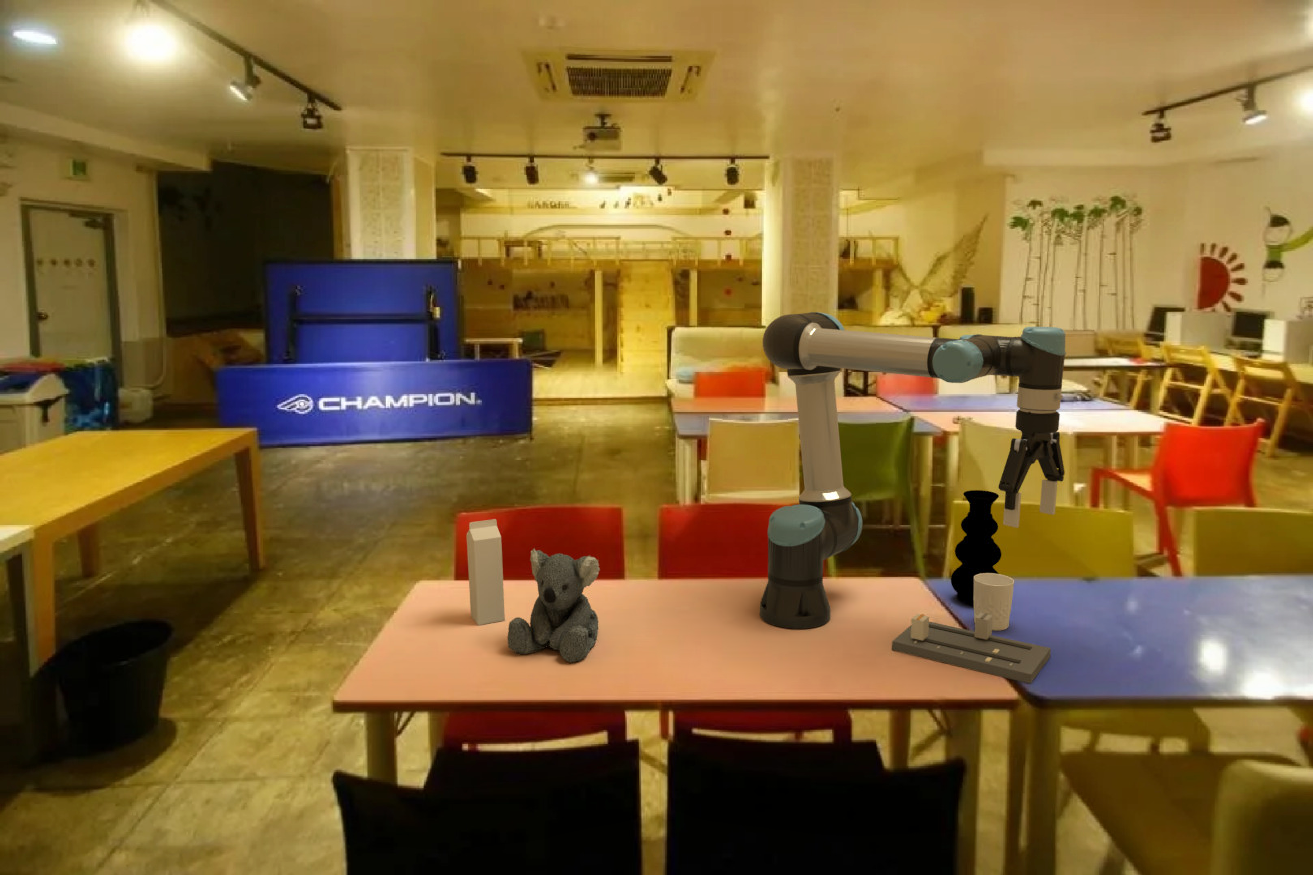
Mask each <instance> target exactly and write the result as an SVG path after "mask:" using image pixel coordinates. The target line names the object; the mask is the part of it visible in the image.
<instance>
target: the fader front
mask: <svg viewBox="0 0 1313 875" xmlns="http://www.w3.org/2000/svg"><path fill="white" fill-rule="evenodd" d="M929 621H930V616H929V615H925V614H923V613H921V614H919V613H916V614H915V615H914V616H912V618H911V623H910V624H911V625H910V626H911V638H914V639H918V640H922V641H923V640H924V639H925V638H926V637H927V636H928V631H929Z"/></svg>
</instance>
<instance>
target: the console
mask: <svg viewBox="0 0 1313 875" xmlns="http://www.w3.org/2000/svg"><path fill="white" fill-rule="evenodd" d="M974 636H975V630H971V629H965V628H961V627H956V626H952V625H947V624H943V623H938V622H933V621H930V620H929V631H928V636H927V637H926V638H925V639H924V640H923V641H922V640H918V639H914V638H911V625H909V626H908V627H907V628H906V629H905V630H904V631H902V632H901V633H900V634H899V635H898V636H897V637H895V638H894V639H893V640H892V641H891V651H895V652H899V653H902V654H907V655H911V656H916V657H919V658H925V659H928V660H932V661H936V662H940V663H944V664H949V665H952V666H957V667H959V668H960V667H961V668H965V669H969V670H971V671H972V670H973V671H977V672H981V673H985V674H989V675H993V676H997V677H1000V678H1001V677H1002V678H1004V679H1005V678H1006V679H1008V680H1009V679H1010V680H1013V681H1016V682H1017V681H1018V682H1020V683H1021V682H1023V683H1026V684H1031V685H1032V683H1033V682H1034V680H1035V679H1036V678H1037V675H1038V674H1040V672H1041V671H1042V669H1043V668H1044V667H1045V665H1046V663H1048V661H1049V659H1050V658H1051V650H1052V649H1051V647H1048V646H1042V645H1038V644H1033V643H1029V642H1025V641H1020V640H1016V639H1011V638H1007V637H1001V636H997V635H991V636H990V637H989V638H988V639H987V640H986V639H982V638H977V637H974Z"/></svg>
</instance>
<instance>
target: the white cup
mask: <svg viewBox="0 0 1313 875" xmlns="http://www.w3.org/2000/svg"><path fill="white" fill-rule="evenodd" d="M1014 585H1015V580H1014V578H1011V577H1010V576H1007V575H1004V574H1000V573H999V574H994V573H982V574H977V575H975V576H974V605H973V613H974V614H973V615H974V616H973V617H974V618H973V622H974V623H975V618H976V617H977V616H978V615H979V614H980V613H983V614H985V613H988V615H993V618H992V631H996V632H997V631H1004V630H1007V628H1009V626H1010V625H1009V624H1010V616H1011V613H1012V605H1013V595H1014V587H1015V586H1014Z"/></svg>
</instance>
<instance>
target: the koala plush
mask: <svg viewBox="0 0 1313 875" xmlns="http://www.w3.org/2000/svg"><path fill="white" fill-rule="evenodd" d="M529 561H530V562H531V563H530V564H531V570H532V573H531V575H533V576H534V580H535V582H536V583H537V591H538V597H537V598H536V599H535V601H534V604H533V607H532V610H531V613H530V620H529V621H530V622H527V620H525V619H524V618H522V617H520V616H519V617H518V616H516V617H514V618H513V619H511V621H509V623H508V628H507V629H508V630H507V631H508V632H507V637H506V638H507V647H508V648H509V649H510V650H511V651H513V652H514V653H516V654H521V655H527V654H532V653H535V652H539V651H541V650H543V649H546V648H547V647H550V648H551V649H552V650H555V651H559V654H560V656H561V658H562V659H563V660H564V661H565V662H568V663H575V662H580V661H581V660H583V659H584V658H586V657H587V655H588V653H590V651H591V648H593V647H594V646H595V645H596V643H597V641H598V640H597V638H598V636H599V634H598V633H599V631H598V630H599V618H598V614H597V613H596V611H595V610H593V609H592V607H591V606H592V605H591V604H590V602H589V598H588V597H587V596H586V595H585V594H583V592H584V590H585V588H587V587H590V586H591V585H592V584H593V583H594V582H595V580H597V578H598V575H599V572H600V571H601V569H600V567H599V566H600V564H599V559H597V558H596V557H594V556H591V555H587V556H586V555H585V556H581V557H579V558H578V559H574V558H573V557H571V556H570V555H568V554H563V553H555V554H552V555H550V556H549V555H548V554H547V553H544V552H543V551H542V550H539V549H538V550H536V548H535V547H534V548H533V549H532V550H531V551H530V559H529Z"/></svg>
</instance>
